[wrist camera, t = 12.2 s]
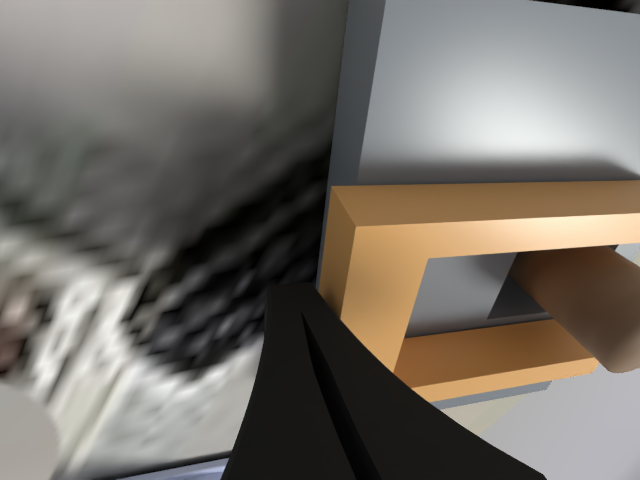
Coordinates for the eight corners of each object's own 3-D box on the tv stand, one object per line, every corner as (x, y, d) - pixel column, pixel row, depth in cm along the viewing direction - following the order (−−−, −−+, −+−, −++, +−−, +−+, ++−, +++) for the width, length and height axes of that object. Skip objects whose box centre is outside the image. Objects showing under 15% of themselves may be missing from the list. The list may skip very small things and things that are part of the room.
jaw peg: (523, 265, 17) (646, 373, 13) (472, 257, 16) (585, 372, 11) (562, 207, 16) (718, 304, 11) (510, 195, 15) (657, 297, 10)
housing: (304, 382, 18) (316, 432, 16) (350, -19, 10) (389, -18, 8) (514, 351, 21) (546, 389, 19) (692, 24, 13) (784, 32, 11)
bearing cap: (308, 369, 14) (322, 421, 12) (331, 185, 10) (356, 226, 8) (554, 334, 16) (591, 373, 15) (648, 180, 12) (713, 209, 11)
